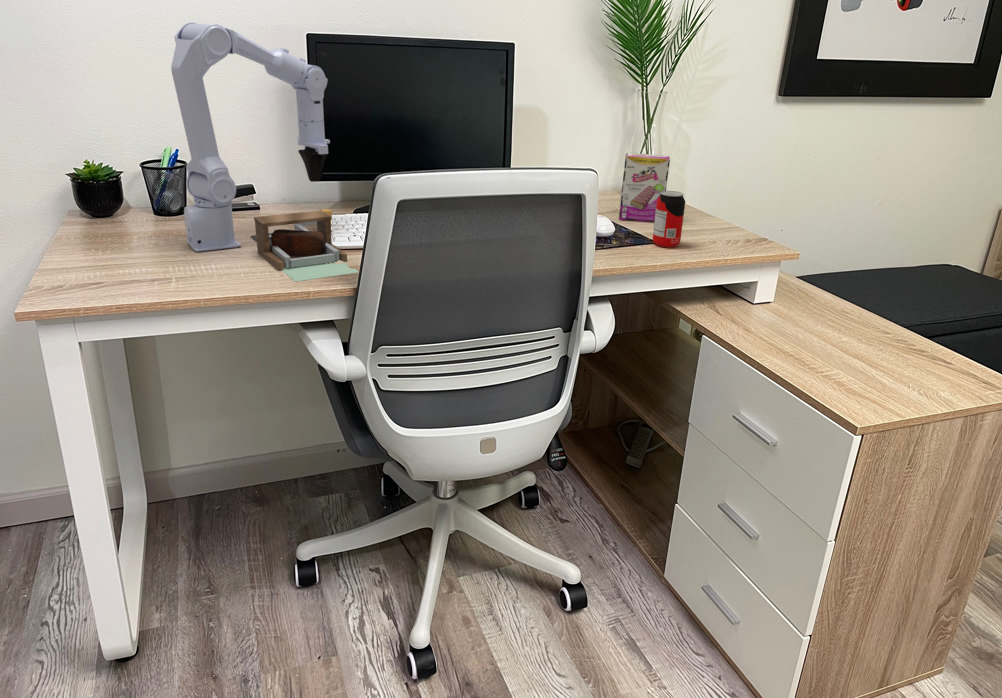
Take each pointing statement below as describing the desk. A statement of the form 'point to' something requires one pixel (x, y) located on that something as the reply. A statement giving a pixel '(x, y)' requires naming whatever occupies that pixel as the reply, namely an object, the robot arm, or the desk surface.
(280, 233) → the brick
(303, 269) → the mat
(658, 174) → the candy bar box
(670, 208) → the beverage can
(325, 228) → the tunnel
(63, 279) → the desk surface
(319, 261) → the tray
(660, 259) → the desk surface
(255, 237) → the pit marker
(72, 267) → the desk surface
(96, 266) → the desk surface
